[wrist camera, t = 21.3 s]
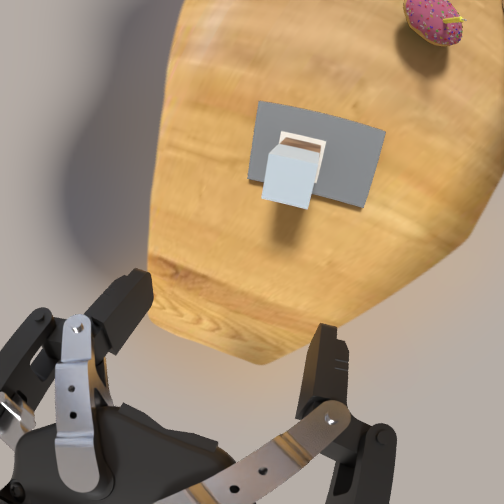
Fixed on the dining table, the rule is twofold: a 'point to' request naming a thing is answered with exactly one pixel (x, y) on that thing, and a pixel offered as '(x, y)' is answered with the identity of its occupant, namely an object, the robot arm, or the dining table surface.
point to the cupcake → (434, 21)
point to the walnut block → (301, 144)
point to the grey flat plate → (332, 149)
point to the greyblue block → (290, 175)
